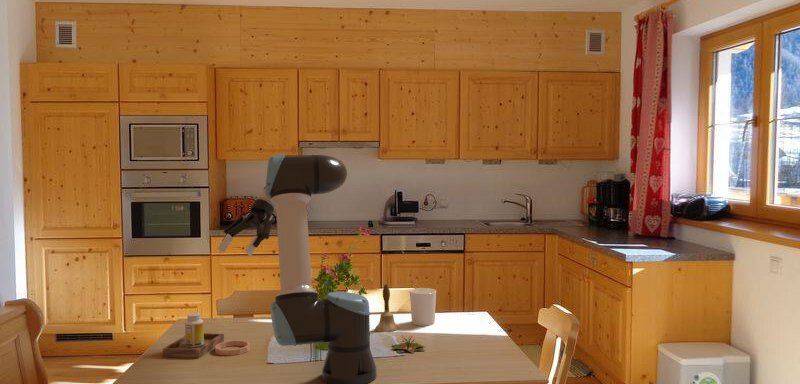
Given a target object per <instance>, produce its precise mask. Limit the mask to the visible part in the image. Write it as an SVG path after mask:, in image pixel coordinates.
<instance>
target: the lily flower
mask: <svg viewBox="0 0 800 384" xmlns="http://www.w3.org/2000/svg"><path fill="white" fill-rule="evenodd" d="M405 335H406V337H407V334H405ZM406 337H405V336H404V335H402V336H401V338H403V339H402V341H401V342H400V344H397V343H396V344H391V346H392V348H391V349H390V350H396V351H397V354H401V353H406V352H409V353H411V354H414V352H415V351H416V352H417V351H420V352H421V351H422V352H423V351H424V352H426V350H425V349H424V348H422V347H426V346H424V345H422V344H420V343H418V342H414V341H415V339H412V338H413V335H410V337H409V338H406ZM403 350H404V351H403Z"/></svg>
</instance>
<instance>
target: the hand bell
mask: <svg viewBox="0 0 800 384" xmlns="http://www.w3.org/2000/svg"><path fill="white" fill-rule="evenodd" d="M390 296H391V291H390V288H389V284H383V288H382V298H383V302H384V306H383V307H384V308H383V309H384V311H383V312H382V313H381V314H380V318H379V322H378V324H377V325H376V326H375V330H376V331H377V332H382V333H383V332H384V333H390V332H396V331H398V330H399V329H400V328H399V326H398V325H397V324H396V322H395V317H394V314H393V312H391V311H390V305H389V303H390V298H391V297H390Z"/></svg>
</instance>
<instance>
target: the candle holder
mask: <svg viewBox="0 0 800 384" xmlns="http://www.w3.org/2000/svg"><path fill="white" fill-rule="evenodd" d="M436 296H437V289H434V288H428V287H417V288H412V289H410V290H409V299H410V300H409V301H410V312H411V313H410V315H411V316H410V317H411V324H412V325H414V326H419V327H422V326H423V327H424V326H432V325H434V324H435V322H436V319H435V318H436V302H437V301H436V300H437V297H436Z"/></svg>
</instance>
